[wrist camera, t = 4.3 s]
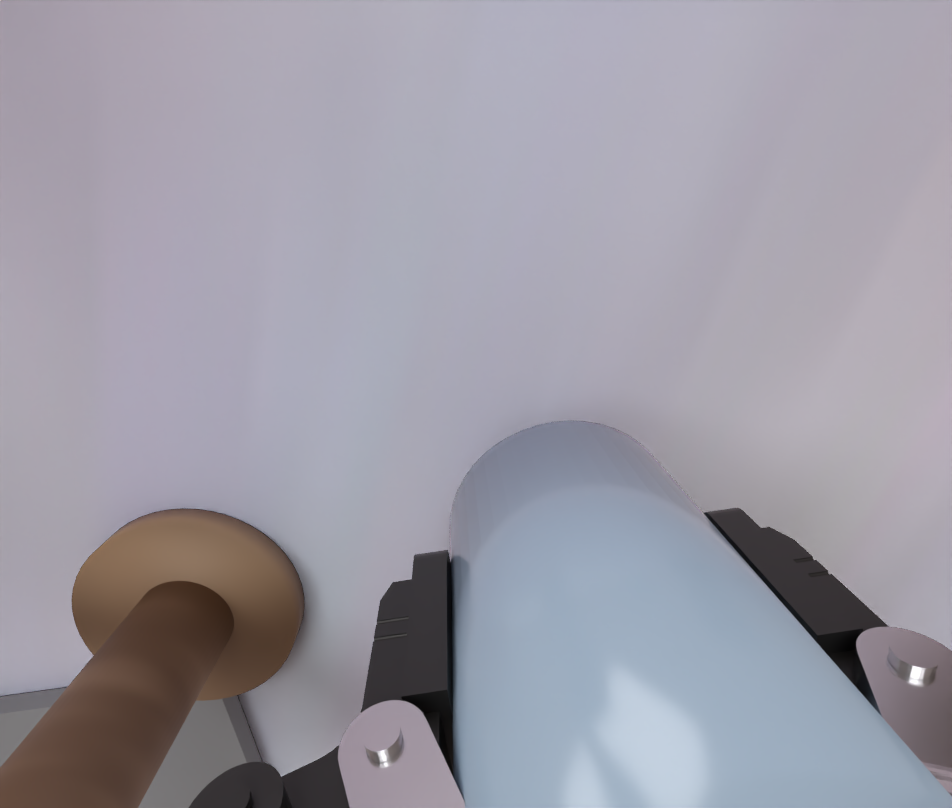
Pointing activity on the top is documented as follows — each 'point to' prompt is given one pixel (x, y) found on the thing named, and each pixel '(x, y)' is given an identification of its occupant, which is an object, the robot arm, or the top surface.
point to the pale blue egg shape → (639, 650)
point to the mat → (188, 760)
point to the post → (156, 653)
